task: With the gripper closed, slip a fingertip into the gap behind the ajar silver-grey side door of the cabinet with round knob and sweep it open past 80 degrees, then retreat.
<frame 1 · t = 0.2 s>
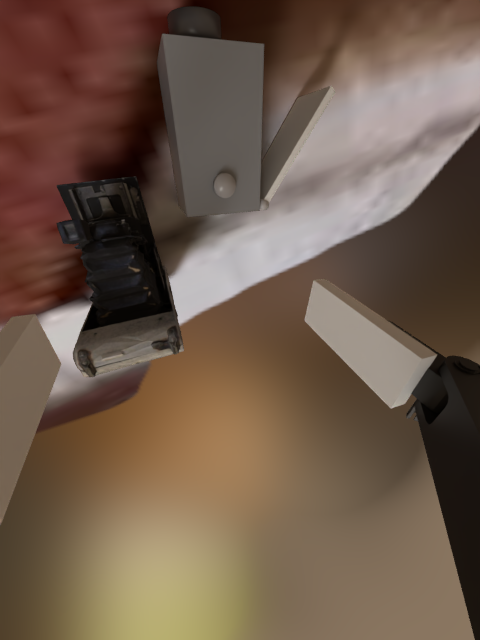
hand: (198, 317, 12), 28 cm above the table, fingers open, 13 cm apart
side door: (282, 156, 31), point 4 cm above the table, hinge at 35.0°
cabinet with round knob: (204, 143, 31), on the table
vintage camera: (122, 240, 34), on the table
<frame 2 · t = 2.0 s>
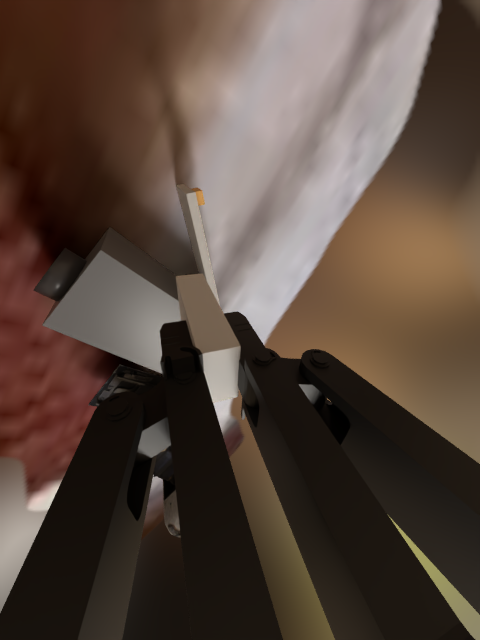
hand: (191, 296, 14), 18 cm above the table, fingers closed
side door: (204, 256, 27), point 4 cm above the table, hinge at 35.0°
cabinet with round knob: (141, 291, 31), on the table
vintage camera: (152, 381, 40), on the table
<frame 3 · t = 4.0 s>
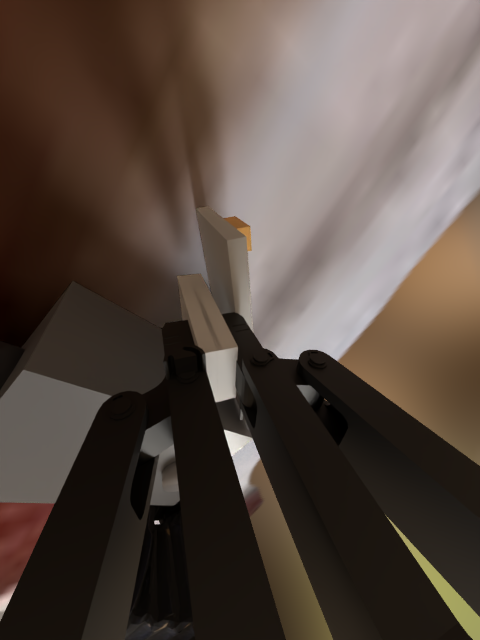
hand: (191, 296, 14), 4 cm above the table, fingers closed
side door: (236, 325, 16), point 4 cm above the table, hinge at 37.6°, touching gripper
cabinet with round knob: (131, 367, 20), on the table
vintage camera: (149, 466, 29), on the table
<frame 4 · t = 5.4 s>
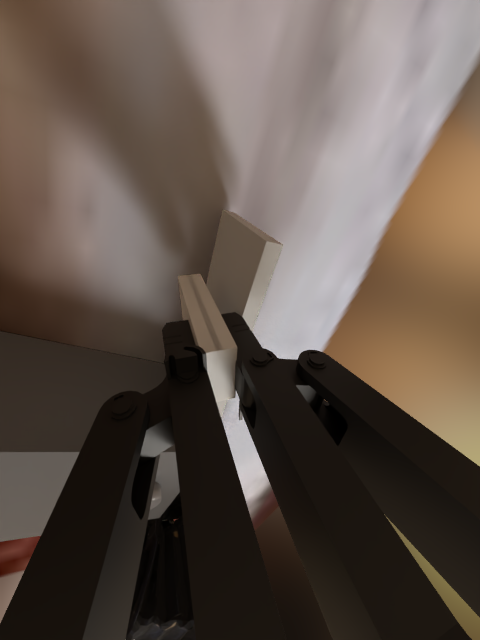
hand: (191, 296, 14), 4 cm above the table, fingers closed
side door: (222, 331, 16), point 4 cm above the table, hinge at 74.1°, touching gripper
cabinet with round knob: (95, 392, 20), on the table
vintage camera: (160, 470, 31), on the table
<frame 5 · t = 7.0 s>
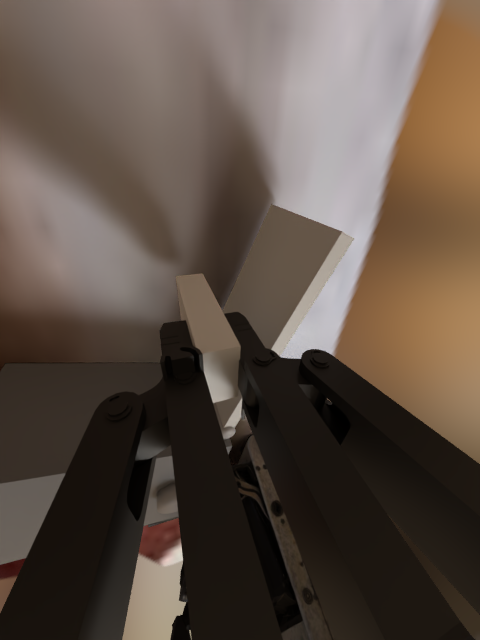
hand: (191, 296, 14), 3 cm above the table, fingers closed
side door: (254, 324, 16), point 4 cm above the table, hinge at 98.3°
cabinet with round knob: (119, 401, 21), on the table
vintage camera: (206, 459, 32), on the table
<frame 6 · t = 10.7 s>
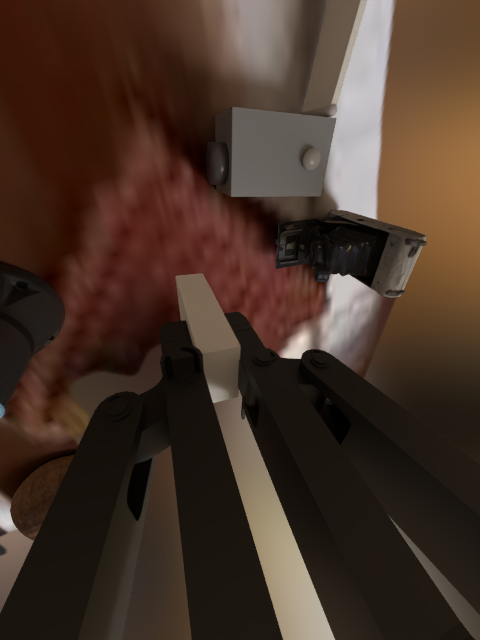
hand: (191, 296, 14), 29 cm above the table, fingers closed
bread: (81, 475, 66), on the table
side door: (336, 49, 30), point 4 cm above the table, hinge at 98.3°
cabinet with round knob: (259, 157, 37), on the table
vintage camera: (303, 237, 48), on the table
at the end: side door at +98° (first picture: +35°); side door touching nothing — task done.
